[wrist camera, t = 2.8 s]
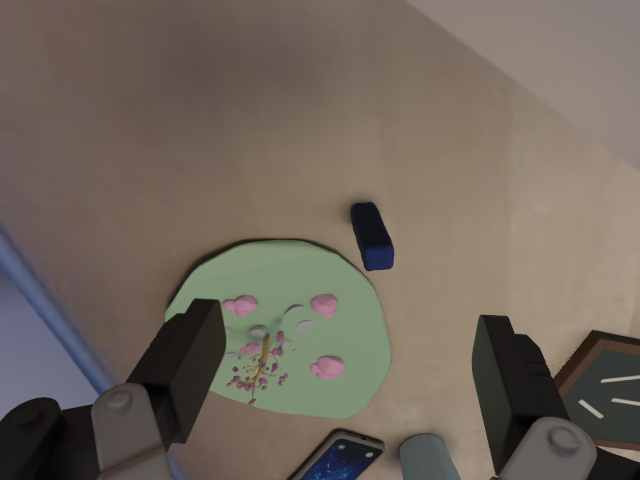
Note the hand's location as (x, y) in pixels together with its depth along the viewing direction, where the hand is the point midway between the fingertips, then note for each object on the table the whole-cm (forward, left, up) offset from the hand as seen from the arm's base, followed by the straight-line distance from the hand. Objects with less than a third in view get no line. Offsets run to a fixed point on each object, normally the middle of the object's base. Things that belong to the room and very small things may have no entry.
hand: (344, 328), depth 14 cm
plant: (+21, +5, -22) cm, 31 cm away
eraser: (+6, +7, -22) cm, 24 cm away
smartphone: (+41, +15, -22) cm, 49 cm away
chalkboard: (+21, +45, -22) cm, 54 cm away
